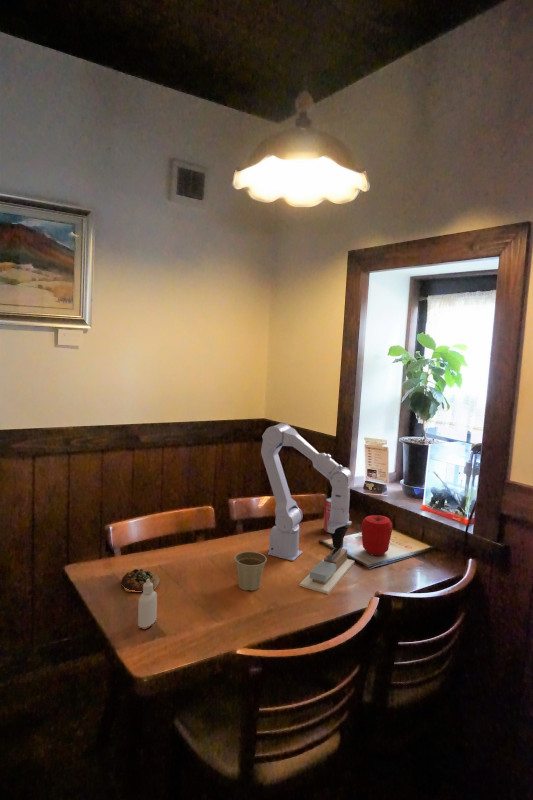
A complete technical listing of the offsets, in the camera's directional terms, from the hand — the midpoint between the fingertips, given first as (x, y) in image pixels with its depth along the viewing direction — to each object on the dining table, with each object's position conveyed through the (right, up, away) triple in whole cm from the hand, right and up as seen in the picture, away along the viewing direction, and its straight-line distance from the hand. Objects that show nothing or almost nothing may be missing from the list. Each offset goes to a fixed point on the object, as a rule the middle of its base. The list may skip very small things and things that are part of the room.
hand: (337, 547), depth 170 cm
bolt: (-1, -2, -2) cm, 3 cm away
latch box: (-3, -7, -5) cm, 9 cm away
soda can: (+2, -2, +31) cm, 31 cm away
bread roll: (-59, -6, -17) cm, 62 cm away
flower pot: (-28, -7, -15) cm, 32 cm away
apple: (+15, -5, +12) cm, 20 cm away
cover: (-6, -5, -10) cm, 13 cm away
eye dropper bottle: (-53, -9, -37) cm, 65 cm away
